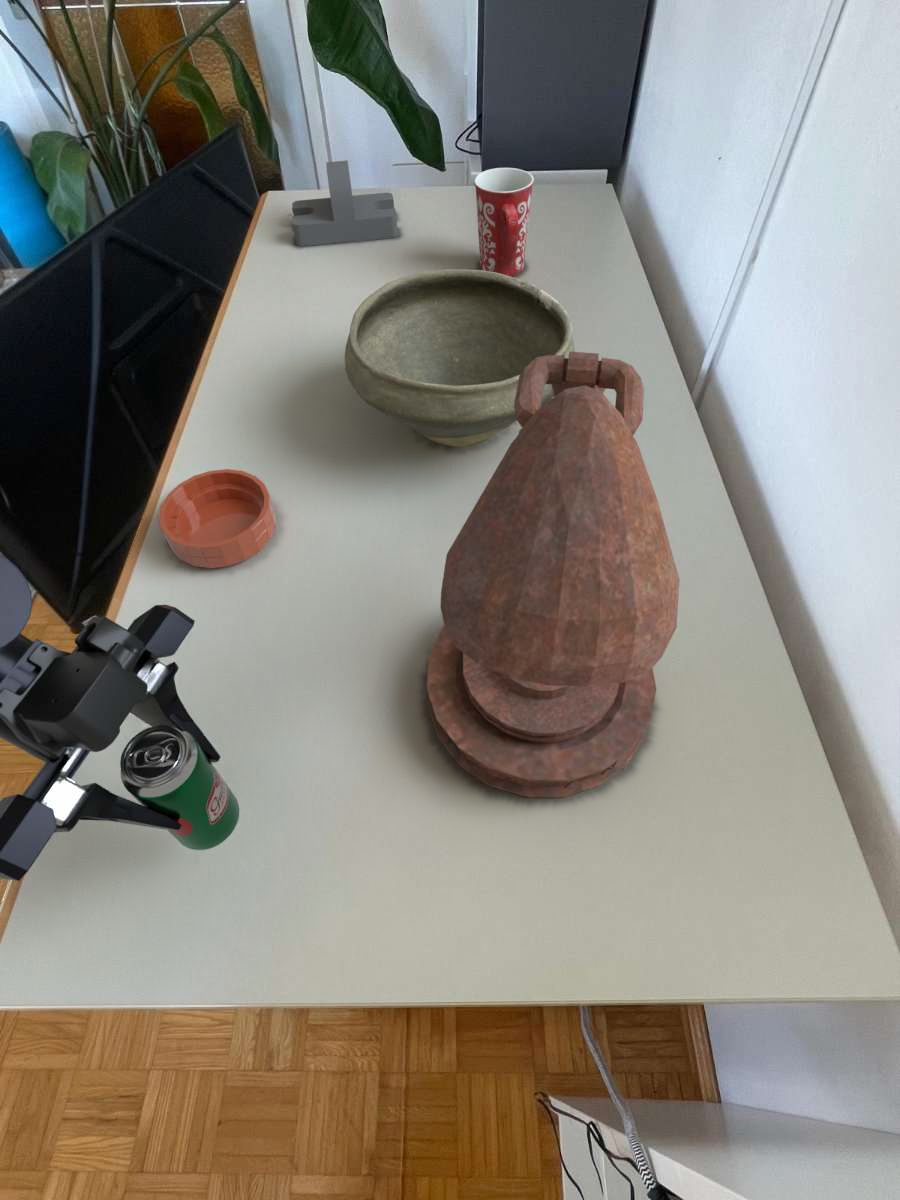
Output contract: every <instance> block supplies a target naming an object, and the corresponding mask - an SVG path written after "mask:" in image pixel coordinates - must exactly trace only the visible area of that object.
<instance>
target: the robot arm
mask: <svg viewBox="0 0 900 1200" xmlns="http://www.w3.org/2000/svg"><path fill="white" fill-rule="evenodd" d="M32 608H33V597H32V590H31V587H30V585H29V583H28V579H27V578H26V577H25V575H24V574H23V572H22V571H21V570H20V569H19V567H18V566H17V565H16V564H15V563H13V562H12V561H11V560H10V559H9V558H7V557H6V556H4V555H3V554H1V553H0V739H2V740H4V741H5V742H7V743H8V744H11V745H13V746H15V747H17V748H19V749H20V750H22V751H24V752H25V753H27V754H29V755H31V756H33V757H34V758H37V760H40V761H42V762H44V764H43V765H42V766H41V767H40V769H39V771H38V772H37V773H36V775H35V776H34V777H33V779H32V780H31V782H30V783H29V784H28V786H27V787H26V788H25V790H24V791H23V792H22V794H20V793H16V794H12V795H7V796H5V797H2V798H1V799H0V879H2V880H9V881H15V882H20V881H21V880H22V879H23V878H24V876H26V874H27V873H29V871H30V869H31V868H32V866H33V865H34V863H35V861H37V859H38V857H39V856H40V854H41V853H42V852H43V850H44V848H45V847H46V845H47V844H48V842H49V841H50V839H51V838H52V837H53V835H54V834H55V833H57V834H58V833H67V832H70V831H72V830H73V829H74V828H75V827H76V826H77V824H78V823H79V821H99V822H100V821H101V822H105V821H106V822H113V823H121V824H128V825H133V826H141V827H148V828H153V829H154V828H155V829H162V830H166V831H168V830H173V831H177V830H180V828H181V826H182V825H181V824H180V823H178V822H177V821H175V820H173V819H172V818H170V817H168V816H166V815H164V814H162V813H160V812H157V811H155V810H152V809H150V808H147V807H145V806H143V805H142V804H141V803H137V802H135V801H133V800H131V799H130V800H129V799H128V798H125V797H123V796H120V795H117V794H115V793H113V792H111V791H110V790H108V789H107V788H105V787H103V786H102V785H100V784H99V783H96V782H93V783H89V784H85V785H79V784H78V783H77V781H75V780H73V779H72V778H73V777H74V776H75V775H76V772H78V770H79V768H80V767H81V766H82V764H83V763H84V761H85V760H86V759H87V757H88V755H89V754H90V752H91V753H98V752H99V753H100V752H102V751H104V750H106V749H108V748H109V747H110V746H111V745H112V744H113V743H114V742H115V740H116V739H117V737H118V736H119V734H120V732H121V726H122V725H123V723H124V722H125V720H126V718H127V717H128V716H129V715H130V714H132V715H133V716H134V717H136V718H138V719H139V720H141V721H142V722H144V723H145V724H147V725H149V726H150V727H153V726H158V725H168V726H172V727H175V728H180V729H183V730H185V731H187V732H188V733H190V734H191V735H192V736H193V737H194V738H195V740H196V741H197V743H198V744H199V746H200V747H201V748H202V750H203V751H204V753H205V754H206V756H207V757H208V758H209V760H210V761H211V763H212V764H214V763H218V762H219V761H220V759H221V755H220V754H219V752H218V751H217V749H216V748H215V747H214V746H213V744H212V743H211V741H210V740H209V739H208V738H207V737H206V735H205V734H204V733H203V731H202V729H200V727H199V726H198V725H197V722H195V721H194V719H193V718H192V716H191V715H190V714H189V712H188V710H187V708H186V707H185V705H184V703H183V702H182V700H181V699H180V697H179V694H178V690H177V687H176V686H177V685H176V682H175V681H176V680H175V676H176V674H177V672H178V671H179V669H180V667H179V665H178V663H176V661H173V662H170V663H168V664H165V663H164V662H162V661H161V659H162V658H168V657H172V656H174V655H175V654H176V652H177V651H178V650H179V648H180V646H181V645H182V643H183V642H184V640H185V639H186V637H187V636H188V635H189V633H190V632H191V630H192V629H193V627H194V625H195V619H193V618H191V617H190V616H189V615H187V614H186V613H185V612H183V611H181V610H180V609H179V608H177V607H176V606H172V605H168V604H155V605H154V606H152V607H151V608H149V609H147V611H146V610H145V612H144V613H142V614H140V615H139V616H138V617H137V618H135V619H134V620H133V621H132V622H131V624H130V625H129V626H128V628H125V627H123V626H122V625H120V624H118V623H116V622H115V621H113V620H112V619H110V618H108V617H107V616H93V617H91V618H90V620H88V622H87V624H85V626H84V627H83V628H82V629H81V631H80V632H79V633H78V634H77V636H76V637H75V639H74V644H75V645H76V646H75V648H74V649H73V650H72V652H68V651H64V650H60V649H58V648H56V647H54V646H53V645H51V644H49V643H48V642H43V641H42V640H40V639H39V638H36V639H34V640H32V639H30V638H28V637H26V636H24V635H23V634H21V633H23V631H24V630H25V628H26V626H27V623H28V621H29V620H30V617H31V614H32V613H31V612H32Z"/></svg>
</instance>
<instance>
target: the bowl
mask: <svg viewBox="0 0 900 1200" xmlns="http://www.w3.org/2000/svg"><path fill="white" fill-rule="evenodd" d="M349 326H350V327H349V333H348V337H347V339H346V344H345V351H344V368H345V374H346V377H347V379H348V382H349V383H350V385H351V386H352V388H353V389H354V390H355V392H356V393H357V395H358V396H359V397H360V398H361V399H362V400H363V401H364V402H366V404H368V405H370V406H371V407H372V408H374V409H376V410H377V411H380V412H382V413H383V414H386V415H387V416H390V417H391V418H394V419H396V420H398V421H400V422H402V423H404V424H406V425H408V426H409V427H411V428H412V429H414V430H415V431H416V432H418V433H419V434H421V435H422V436H423V437H424V438H426V439H428V440H430V441H433V442H434V443H437V444H440V445H444V446H450V447H456V448H461V447H467V446H472V445H475V444H477V443H480V442H482V441H485V440H487V439H489V438H492V437H493V436H495V435H497V434H499V433H501V432H502V431H504V430H506V429H507V428H509V427H511V425H513V424H515V422H518V421H517V420H516V416H515V410H514V403H515V397H516V391H517V386H518V380H519V376H520V375H521V373H522V371H523V370H524V368H525V367H526V366H527V365H528V364H529V363H531V362H532V361H533V360H534V359H535V358H537V357H542V356H546V355H565V358H569V352H576V351H575V343H574V338H573V337H574V336H573V322H572V319H571V317H570V315H569V313H568V312H567V311H566V309H565V308H564V307H563V305H562V304H561V303H560V302H559V301H558V300H557V299H556V298H554V297H553V296H551V295H550V294H549V293H548V292H546V291H544V289H542V288H541V287H540V286H539V287H537V285H536V284H534V283H528V282H527V281H526V280H523V279H520V278H517V277H514V276H511V277H510V276H507V275H503V274H500V273H496V272H490V271H483V270H481V269H468V268H467V269H466V268H465V269H464V268H463V269H462V268H460V269H457V268H456V269H454V268H449V269H438V270H436V269H435V270H424V271H423V270H422V271H417V272H415V273H411V274H407V275H405V276H401V277H397V278H396V279H392V280H391V281H389V282H387V283H386V284H384V285H382V287H380V288H378V289H377V290H375V291H374V292H372V293H370V295H368V297H366V298H365V299H364V300H363V301H361V303H360V304H359V306H358V307H357V308H356V310H355V311H354V314H353V316H352V319H351V323H350V325H349ZM553 397H554V392H553V388H552V384H545V385H544V390H543V396H542V402H541V406H542V405H543V404H545V403H546V402H548V401H549V400H550V399H552V398H553Z"/></svg>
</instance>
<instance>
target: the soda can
mask: <svg viewBox="0 0 900 1200" xmlns="http://www.w3.org/2000/svg"><path fill="white" fill-rule="evenodd" d="M119 766H120V768H119V769H120V779H121V782H122V785H123V787H124V788H125V789H126V791H127V792H128V793H129V794H130V795H131V796H132V797H133V798H134V799H135V800H136V801H137V802H138V803H139V804H140V805H142V806H145V807H147V808H150V809H152V810H155V811H157V812H160V813H162V814H164V815H166V816H168V817H170V818H172V819H173V820H175V821H177V822H178V823H180V824H181V825H182V826H181V828H180V830H177V831H173V830H167V831H168V833H170V835H171V836H172V837H174V838H175V840H177V841H178V842H179V843H180V845H182V846H183V847H185V848H187V849H190V850H193V851H206V850H210V849H213V848H215V847H217V846H219V845H221V844H222V843H223V842H225V841H226V840H227V839H228V838H229V837H230V836H231V835H232V833H233V832H234V830H235V828H236V827H237V825H238V822H239V818H240V804H239V801H238V799H237V797H236V796H235V795H234V793H233V791H232V790H231V788H230V787H229V786H228V784H227V783H226V782H225V780H224V778H223V777H222V776H221V774H220V772H219V771H218V770H217V768H216V767H215V766H214V763H212V762H211V761H210V760H209V758H208V757H207V756H206V754H205V753H204V751H203V750H202V748H201V747H200V746H199V744H198V743H197V741H196V740H195V738H194V737H193V736H192V735H191V734H190V733H188V732H187V731H185V730H183V729H180V728H175V727H172V726H168V725H158V726H153V727H152V726H150V727H147V728H144V729H142V730H140V731H139V732H138V733H137V734H135V735H134V736H133V737H131V739H129V741H128V742H127V744H126V745H125V747H124V748H123V751H122V753H121V756H120V762H119Z"/></svg>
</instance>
